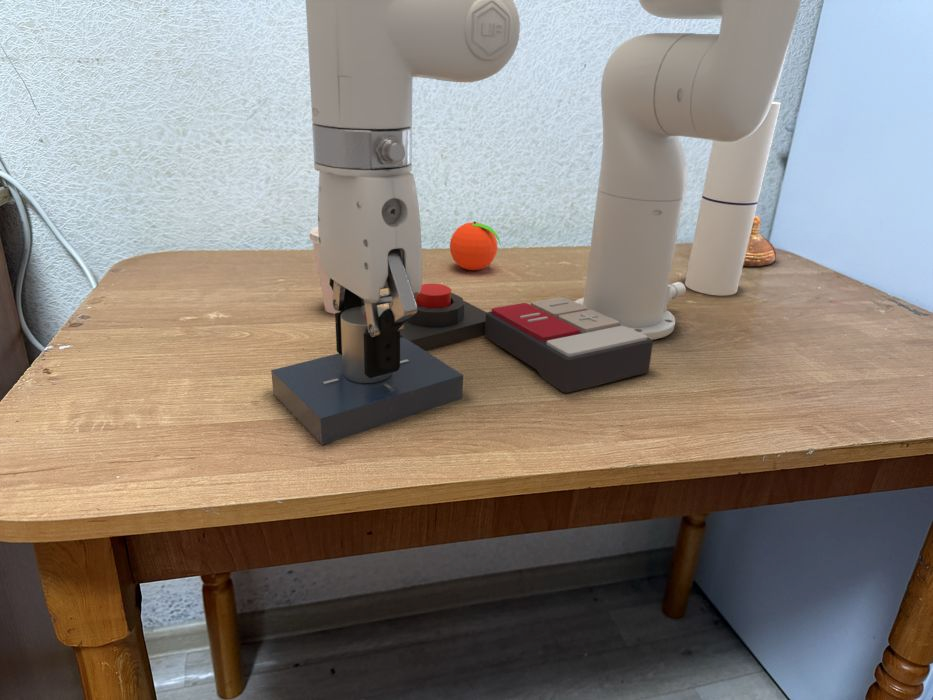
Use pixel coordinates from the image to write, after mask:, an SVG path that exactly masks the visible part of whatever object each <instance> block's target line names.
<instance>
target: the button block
mask: <svg viewBox="0 0 933 700" xmlns="http://www.w3.org/2000/svg"><path fill="white" fill-rule="evenodd" d="M413 296H414V299H415V295H413ZM416 305H417V304H416ZM385 309H386V310H388V309H389V307H388V308H385ZM487 312H488V311H485V310H484V309H481V308H480V307H477V306H476V305H473V304H471V303H469V302H467V301H466V300H464V299H463V297H462V296H460V295H457V294H456V293H453V292H451V305H450V306H448V307H443V308H426V307H421V306H418V305H417V313H416V314H414V315H413V316H411V317H410V318H408V319H407V321H406V322H405V323H404V328H403V330H402V331H400V338H403V337H404V338H406V339H408V340H409V341H411V342H412V343H414V344H415V345H417V346H419V347H420V348H422V349H423V350H425V351H429V350H432V349H436V348H440V347H443V346H448V345H451V344H455V343H459V342H462V341H466V340H470V339H473V338H477V337H482V336H485V320H486V313H487Z"/></svg>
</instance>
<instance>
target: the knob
mask: <svg viewBox="0 0 933 700" xmlns="http://www.w3.org/2000/svg"><path fill="white" fill-rule="evenodd" d="M377 308H378V316H380V315H381V314H382V313H383V311H384V310H386V309H387V308H383V307H380V306H377ZM365 333H369V332H368V326H367V318H366V311H365V306H361V307H354V308H350V309H347V310H345V311H344V312H343V313H342V314H341V337H342V362H343V375H344V376H345V377H346V378H347V379H349V380H351V381H354V382H358V383H375V382H380V381H383V380H385V379H387V378H389V377H390V376H391V374H392V373H388V374H385V375H381V376H377V377H373V378H369V377H367V376H366V375H365V371H364V334H365Z"/></svg>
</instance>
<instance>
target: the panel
mask: <svg viewBox="0 0 933 700" xmlns="http://www.w3.org/2000/svg"><path fill="white" fill-rule="evenodd" d="M270 372H271V382H272V395H273V396H274V397H275V398H276V399H277V400H278V402H280V403H281V404H282V405H283V406H284V408H286V409H287V410H288V412H290V414H291V415H292V416H294V418H296V420H297V421H298V422H300V424H301V425H302V426H303V427H304V428H305V429H306V430H307V431H308V432H309V433H310V434H311V435H312V436H313V437H314V438H315V440H317V441H318V443H319V444H320V445H321V446H325V445H327V444H330V443H334V442H335V441H338V440H342V439H345V438H347V437H352V436H354V435H356V434H361V433H363V432H366V431H369V430H372V429H374V428H377V427H381V426H384V425H387V424H390V423H393V422H396V421H398V420H403V419H406V418H408V417H412V416H414V415H417V414H420V413H423V412H426V411H429V410H432V409H435V408H439V407H441V406H445V405H447V404H450V403H453V402H457V401H459V400H462V399H463V386H464V384H463V383H464V374H462V373H461V372H459V371H458V370H456V369H455V368H453V367H451V366H449V365H448V364H447V363H445V362H444V361H442V360H440V359H439V358H438V357H436V356H434V355H432V354H431V353H430V352H428V351H427V350H423V349H422V348H420V347H419V346H417V345H415V344H414V343H412V342H411V341H409V340H408V339H406V338H404V337H403V338H400V368H399V370H398V371H396V372H392V374H391V376H390V377H389V378H387V379H385V380H383V381H380V382H375V383H358V382H354V381H351V380H349V379H347V378H346V377H345V376H344V375H343V362H342V355H340V354H339V353H338V352H337V353H333V354H330V355H326V356H322V357H318V358H315V359H310V360H306V361H302V362H298V363H293V364H290V365H286V366H282V367H278V368H275V369H271V370H270Z"/></svg>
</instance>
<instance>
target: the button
mask: <svg viewBox="0 0 933 700" xmlns="http://www.w3.org/2000/svg"><path fill="white" fill-rule="evenodd" d="M451 293H452V288H451V287H449V286H448V285H445V284H443V283H422V288H421V291H420V293H419V294H417V295H415V302H416V304H417V305H418V306H421V307H426V308H443V307H448V306H450V305H451Z"/></svg>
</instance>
